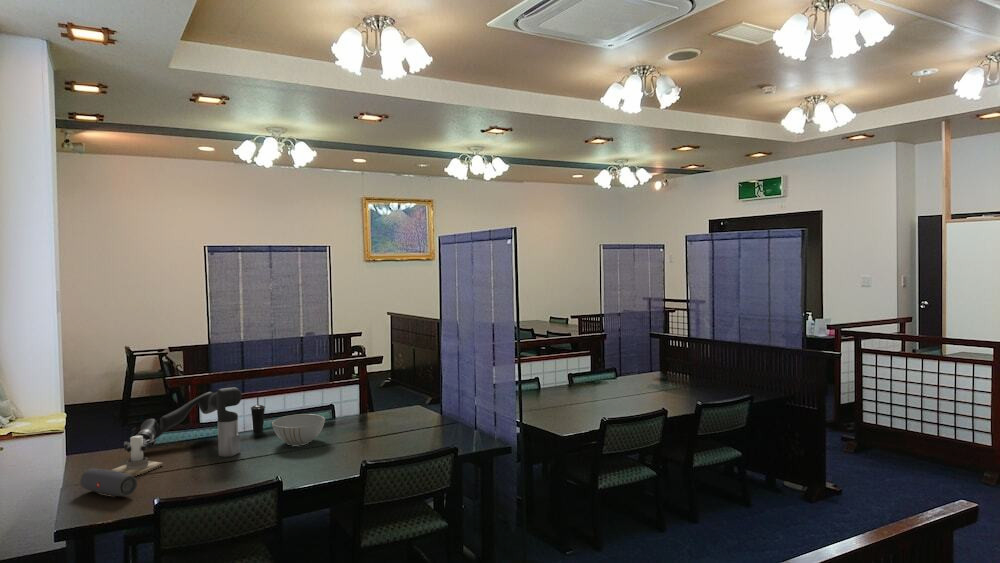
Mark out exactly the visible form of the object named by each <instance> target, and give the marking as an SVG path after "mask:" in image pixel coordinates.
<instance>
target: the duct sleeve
mask: <svg viewBox="0 0 1000 563" xmlns="http://www.w3.org/2000/svg"><path fill="white" fill-rule="evenodd" d="M129 441H130V442H129V443H131V451H130V459H131V462H132V463H134V462H141V461H144V459H143V457H144V451H142V449H141V447H142V445H143V436H141V435H138V436H136V435H134V436H131V437H129Z"/></svg>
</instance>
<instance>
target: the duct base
mask: <svg viewBox="0 0 1000 563" xmlns="http://www.w3.org/2000/svg"><path fill="white" fill-rule="evenodd" d="M143 459H144V461H141V462H134V463H132V462H131V458H130V459H127V460H126V461H125V464H123V465H120V466H118V467H116V468H115V467H114V468H112V469H110V470H111V471H116V472H121V473H125V474H129V475H135V476H137V475H140V474H142V473H145V472H147V473H149V472H148V471H150V472H152V471H154V470H153V469H155V468H157V469H159V468H161V467H160V466H162V467H164V462H160V461H152V460H149V458H148V457H147V456H143ZM158 467H159V468H158ZM151 470H152V471H151ZM155 470H156V469H155ZM145 474H146V473H145ZM142 475H143V474H142ZM140 476H141V475H140ZM137 477H138V476H137Z"/></svg>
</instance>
